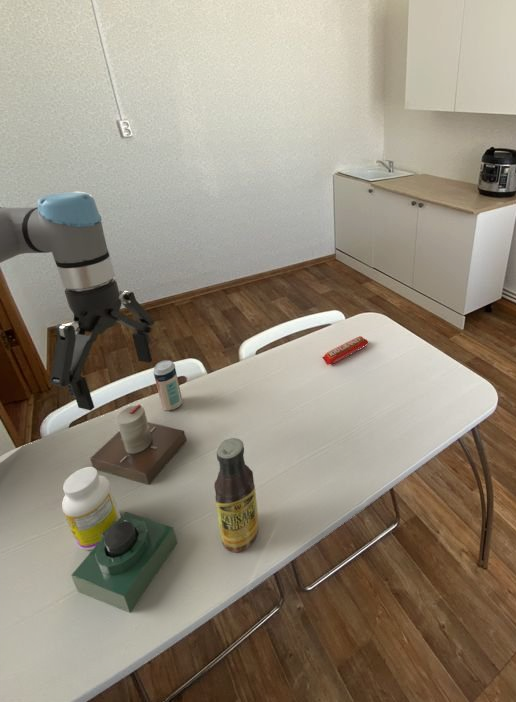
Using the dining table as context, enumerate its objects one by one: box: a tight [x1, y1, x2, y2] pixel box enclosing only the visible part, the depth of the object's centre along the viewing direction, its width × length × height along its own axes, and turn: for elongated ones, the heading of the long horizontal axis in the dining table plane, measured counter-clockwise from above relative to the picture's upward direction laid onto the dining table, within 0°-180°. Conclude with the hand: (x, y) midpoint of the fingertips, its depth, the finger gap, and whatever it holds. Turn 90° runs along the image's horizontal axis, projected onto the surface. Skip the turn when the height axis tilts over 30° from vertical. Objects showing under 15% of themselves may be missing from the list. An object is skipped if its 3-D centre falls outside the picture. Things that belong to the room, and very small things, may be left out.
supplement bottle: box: [61, 466, 122, 551], centre depth 65 cm, size 7×7×13 cm
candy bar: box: [321, 335, 369, 366], centre depth 114 cm, size 16×4×3 cm, turn 131°
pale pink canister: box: [152, 359, 184, 411], centre depth 94 cm, size 5×5×12 cm
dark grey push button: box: [104, 521, 137, 557], centre depth 60 cm, size 4×4×2 cm
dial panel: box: [89, 421, 187, 486], centre depth 82 cm, size 14×11×3 cm
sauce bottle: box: [214, 437, 259, 553], centre depth 63 cm, size 7×6×20 cm
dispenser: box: [70, 511, 178, 613], centre depth 61 cm, size 10×10×6 cm
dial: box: [116, 403, 152, 454], centre depth 80 cm, size 5×5×8 cm
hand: (118, 382), depth 74 cm, fingers open, 13 cm apart
